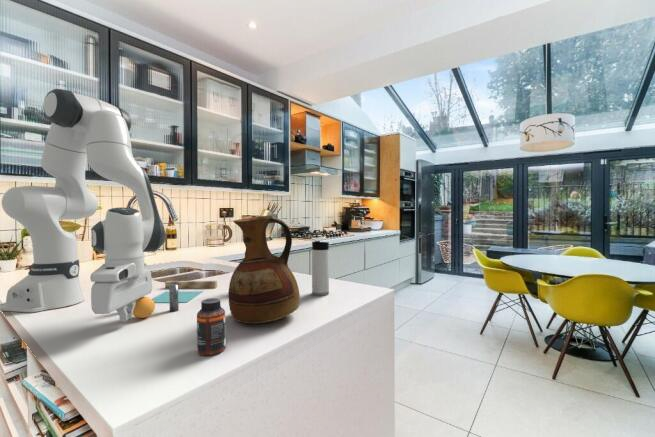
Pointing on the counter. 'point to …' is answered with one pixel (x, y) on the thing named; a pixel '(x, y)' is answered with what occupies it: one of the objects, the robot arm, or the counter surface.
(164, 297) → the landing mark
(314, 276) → the travel mug
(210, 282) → the stopper wall
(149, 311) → the ball
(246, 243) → the ceramic pitcher
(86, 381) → the counter surface
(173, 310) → the right post
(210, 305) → the supplement bottle
